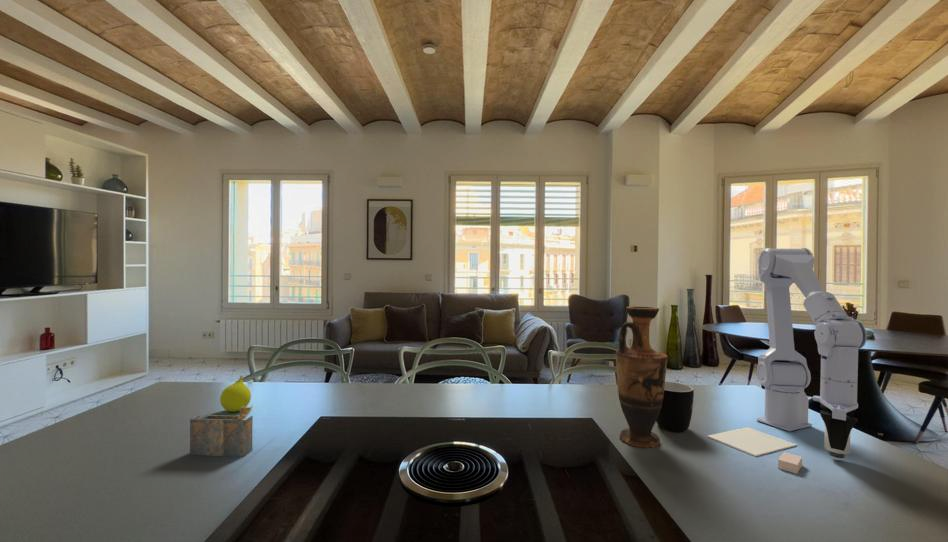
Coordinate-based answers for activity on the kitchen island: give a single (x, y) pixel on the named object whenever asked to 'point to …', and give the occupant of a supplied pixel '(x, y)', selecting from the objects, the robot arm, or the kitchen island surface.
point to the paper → (751, 441)
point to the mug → (676, 407)
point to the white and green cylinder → (836, 452)
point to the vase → (640, 379)
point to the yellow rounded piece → (235, 396)
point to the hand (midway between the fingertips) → (837, 445)
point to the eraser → (790, 462)
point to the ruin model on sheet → (222, 434)
